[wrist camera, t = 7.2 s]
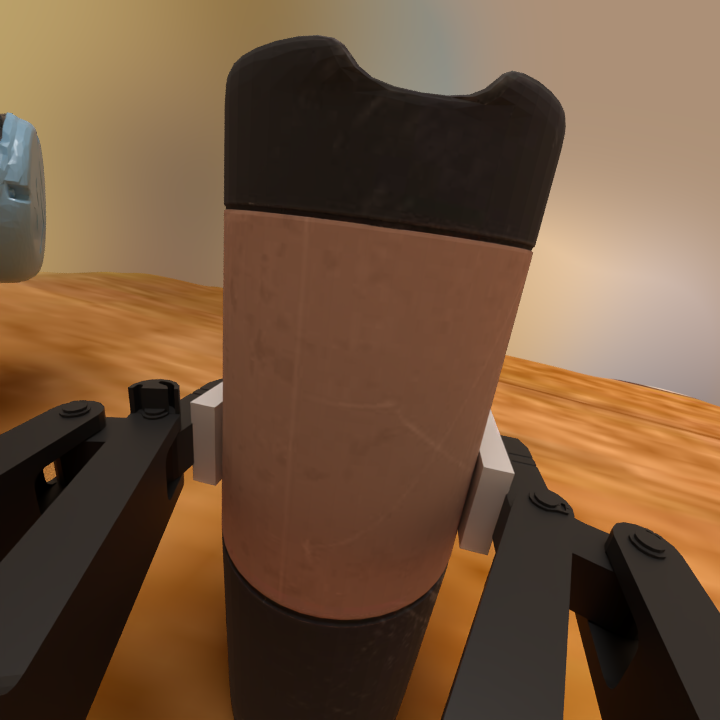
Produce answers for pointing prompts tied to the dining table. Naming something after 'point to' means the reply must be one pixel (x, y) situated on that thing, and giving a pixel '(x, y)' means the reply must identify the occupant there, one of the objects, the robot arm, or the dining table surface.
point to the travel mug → (360, 357)
